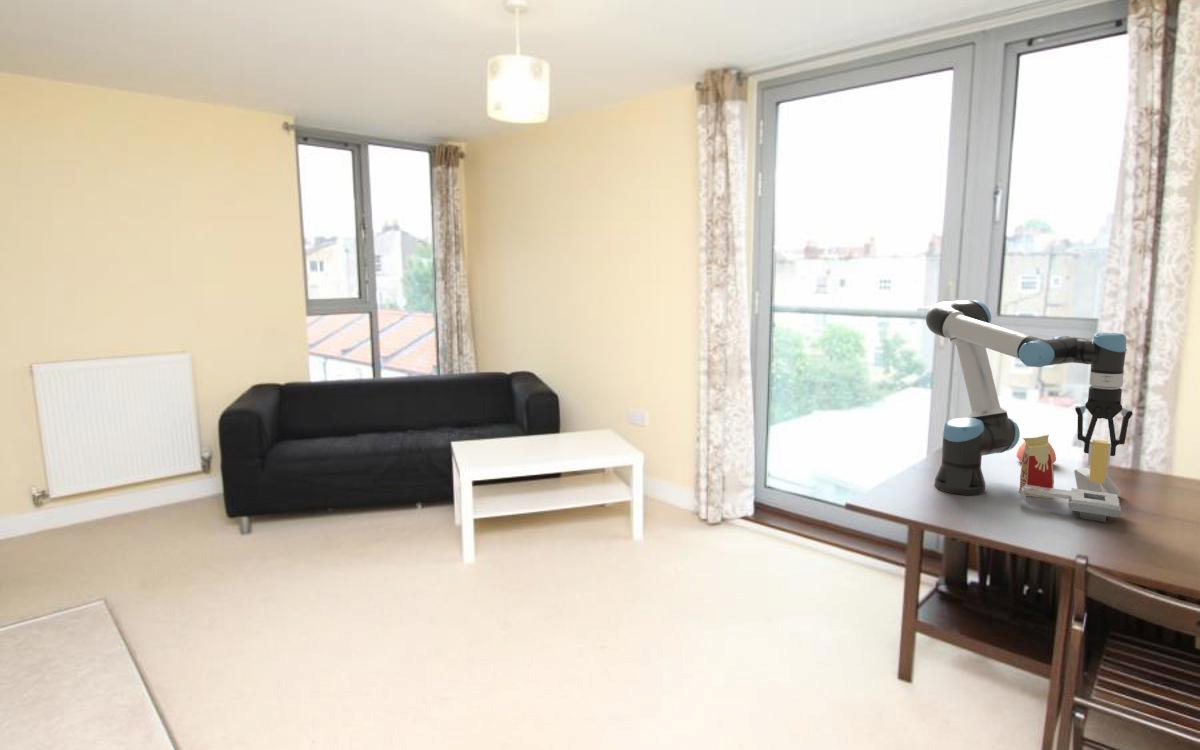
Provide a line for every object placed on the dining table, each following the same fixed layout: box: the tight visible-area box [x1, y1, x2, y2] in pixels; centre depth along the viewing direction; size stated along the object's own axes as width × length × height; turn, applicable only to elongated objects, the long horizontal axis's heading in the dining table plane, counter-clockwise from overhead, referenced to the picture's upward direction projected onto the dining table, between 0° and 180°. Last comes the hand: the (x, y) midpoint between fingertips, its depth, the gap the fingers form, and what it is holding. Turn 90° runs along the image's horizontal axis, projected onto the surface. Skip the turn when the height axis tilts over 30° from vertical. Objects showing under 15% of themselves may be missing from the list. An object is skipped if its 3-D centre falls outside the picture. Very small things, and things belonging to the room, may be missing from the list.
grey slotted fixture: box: [1020, 484, 1122, 523], centre depth 196 cm, size 24×12×6 cm, turn 54°
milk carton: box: [1018, 433, 1055, 500], centre depth 212 cm, size 9×9×20 cm
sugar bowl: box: [1016, 441, 1057, 464], centre depth 242 cm, size 12×14×10 cm
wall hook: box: [1073, 467, 1122, 498], centre depth 208 cm, size 8×10×10 cm
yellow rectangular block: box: [1089, 439, 1109, 484], centre depth 190 cm, size 4×4×12 cm
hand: (1098, 464), depth 191 cm, fingers closed on yellow rectangular block, 3 cm apart
